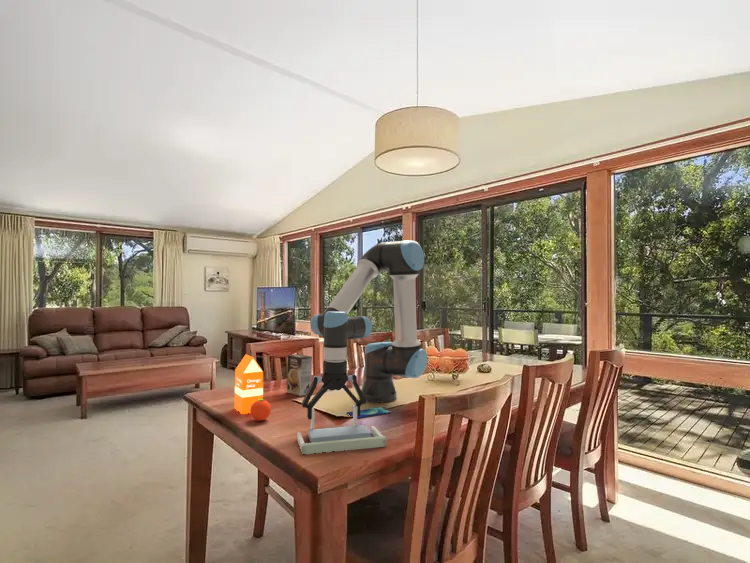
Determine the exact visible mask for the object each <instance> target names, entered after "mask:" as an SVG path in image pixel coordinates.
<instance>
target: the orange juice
mask: <svg viewBox="0 0 750 563" xmlns="http://www.w3.org/2000/svg"><path fill="white" fill-rule="evenodd" d="M234 371H235V372H234V373H235V375H234V408H235V409H236V410H235V409H234V410H235V411H237V412H238V411H239V412H240V414H241V415H242V414H243V415H248V413H249V414H251V413H250V410H251V406H252V404H253V403H254V402H256V401H257V400H259V399H263V400H264V398H263V397H264V371H263V370H262V368H261V367H260V365H259V364H258V362H257V361H256V359H255V358H254V356H251V355H249V354H245V355H244V356H243V358H242V359H241V361H240V362H239V363H238V365H237V367H235V369H234ZM239 412H238V413H239Z"/></svg>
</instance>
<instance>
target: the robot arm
mask: <svg viewBox="0 0 750 563" xmlns="http://www.w3.org/2000/svg"><path fill="white" fill-rule="evenodd" d="M424 264H425V254H424V251H423V248H422V247H421V245H420V243H419V242H417V241H415V240H408V239H407V240H405V239H404V240H395V241H383V242H379V243H377V244H375V245H373V246H372V247H370V248H369V249H368V250H367V251H366V252H364V253H363V255H362V256H361V257H360V258H359V260H358V261H357V262H356V268H355V269H354V271H353V272H352V274H351V275H350V276H349V278H348V279H347V280H346V282H345V283H344V284H343V286H342V287H341V288H340V290H339V291H338V292H337V294H336V295H335V296H334V298H333V299H332V300H331V302H330V304H328V306H327V308H326V309H325V310H324V312H323V313H317V314H314V316H312V318H311V320H310V329H311V331H312V332H313V334H315V335H318V336H323V354H322V355H323V357H322V359H323V362H322V376H317V375H313V376H312V378H311V386H310V388H309V390H308V392H307V394H306V395H304V397H303V399H302V402H301V406H302V408H303V409H304V408H306V410H307V412H306V413H307V415H306V416H307V419H308V420H310V430H313V429H315V408H314V406H315V405H316V404H317V403H318V401H320V399H321V398H322V397H323V396H324V395H325V393H326V392H328V391H341V390H342V389H343V390H344V391H345V393H346V394H347V395H348V396H349V397H350V398H351V400H352V401H353V402H354V403H355V404H354V403H353V405H352V411H353V418H352V426H358V419H357V416H360V410H361V407H362V405H365V404H366V403H367V402H371V403H388V402H393V401H395V400H397V390H396V387H395V383H394V380H393V378H394V376H396V377H403V378H407V379H409V378H411V379H417V378H419V377H421V376H422V375H423V374H424V372H425V370H426V368H427V364H428V353H427V351H426V349H424V348H422V342H421V341H420V340H419V339H418V327H417V299H416V298H417V297H416V294H417V293H416V279H417V277H418V276H419V275H420V274H419V273H420V272H419V271H420V270H422V269H423V268H424ZM384 271H385V272H386V271H388V273H389V275H388V276H389V277H390V278H391V279H392V284H393V305H394V310H393V311H394V335H395V337H394V340H393V342H392V341H380V342H373V343H371V342H370V343H368V344H366V346H365V351H364V380H363V383H362V386H361V387H360V385H359V382H358V377H357V375H356V374H355V373H351V374H349V375H348V370H347V369H348V361H347V359H348V340H357V339H360V340H361V339H363V338H367V337H369V336H370V335H371V333H372V330H373V323H372V321H371V319H370V318H369V317H368V316H366V315H365V316H364V315H357V316H355V315H349V313H350V312H351V310H352V309H353V307H354V306H355V304H357V301H358V300H359V298H360V297H361V296H362V294H363V293H364V291H365V290H366V288H367V287H368V286H369V284H370V283H371V281H372V280H373V279H374V278H377V277H378V276H379V274H380V273H381V272H384ZM348 381H349V382H351V383H352V385H353V387H354V389H355V391H356V393H357V396H358V398H359V399H358V398H357V397H356V396H355V394H354V393H353V392H352V391H351V389H349V387H348V386H347V385H346V384H347V382H348ZM320 382H322V383H323V384H322V386H321V387H320V389H319V390H317V392H316V393H315V395H314V396H313V394H314V392H315V390H316V389H317V385H318V384H320ZM312 396H313V397H312ZM311 398H312V399H311Z"/></svg>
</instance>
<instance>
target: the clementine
mask: <svg viewBox="0 0 750 563" xmlns="http://www.w3.org/2000/svg"><path fill="white" fill-rule="evenodd" d="M271 413H272V405H271V404H270V402H268V400H266V399H264V398H263V399H259V400H257V401H256V402H254V403H253V404H252V406H251V410H250V413H249V414H250V416H251V417H252V418H253V419H254V420H255V421H258V422H262V421H265V420H267V419H268V418H269V416H270V415H271Z"/></svg>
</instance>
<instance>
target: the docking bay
mask: <svg viewBox="0 0 750 563" xmlns="http://www.w3.org/2000/svg"><path fill="white" fill-rule="evenodd" d="M370 432H371V437H367V438H357V439H346V440H335V441H324V442H313V443H311V442H306V443H305V441H304V437H303V435H302V432H301V431H300V432H297V434H296V435H297V436H296V440H297V443H298V446H300V447H299V450H300V449H301V450H300V452H302V453H301V455H302V454H306V455H315V454H314V453H316V454H323V453H322V452H326V453H333V452H332V451H335V452H345V451H353V450H355V451H356V450H364V449H375V448H385V447H387V437H386V436H385V435H383V434H382V433H381V432H380V430H378V429H377V428H376V427H375V425H373V426H370ZM344 450H345V451H344Z"/></svg>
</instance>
